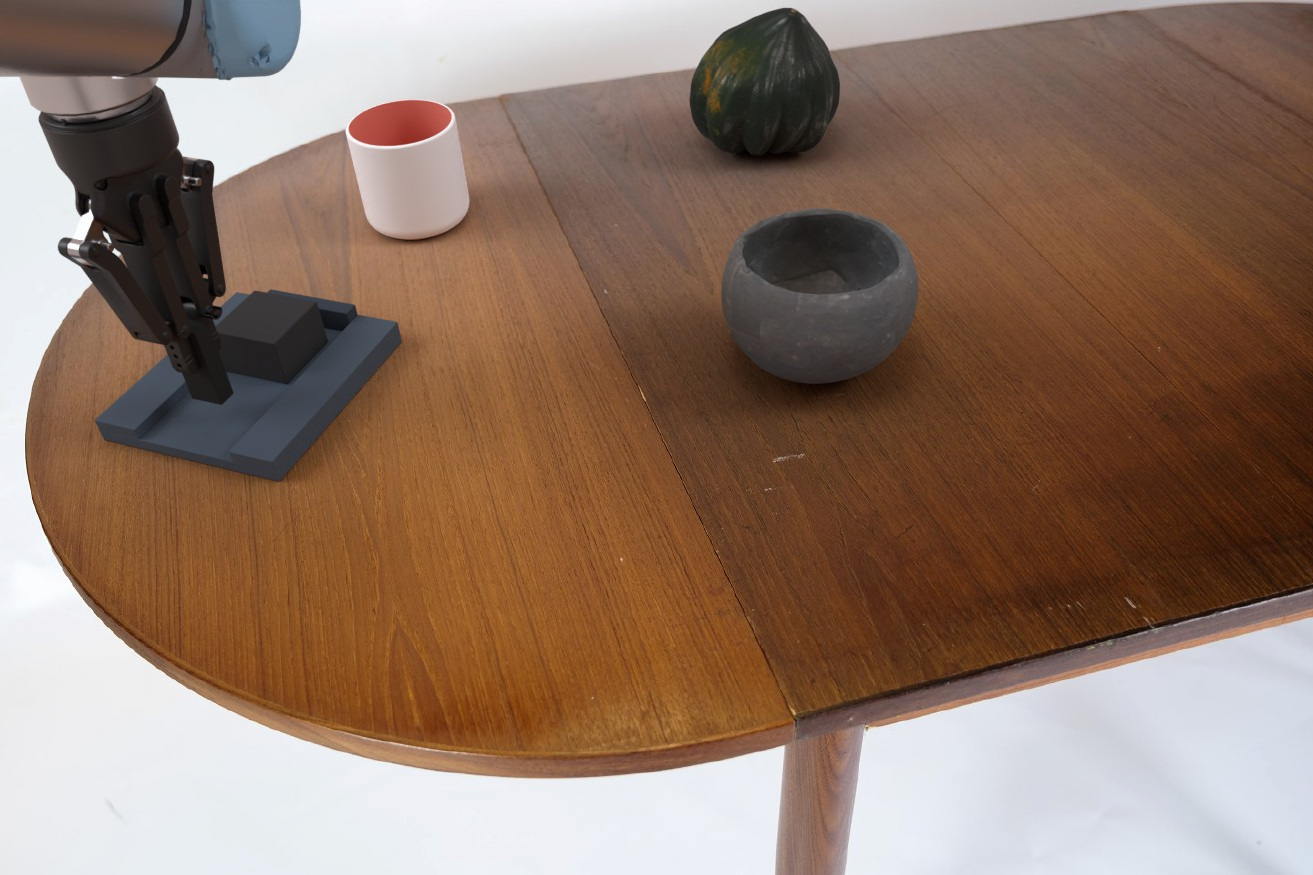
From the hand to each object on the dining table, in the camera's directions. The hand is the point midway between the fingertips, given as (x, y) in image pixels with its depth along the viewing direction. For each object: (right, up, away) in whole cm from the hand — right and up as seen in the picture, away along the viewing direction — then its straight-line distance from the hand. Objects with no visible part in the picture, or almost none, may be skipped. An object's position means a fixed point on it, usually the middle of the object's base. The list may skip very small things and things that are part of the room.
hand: (212, 395), depth 85 cm
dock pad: (+2, +1, +5) cm, 6 cm away
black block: (+3, +3, +7) cm, 8 cm away
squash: (+45, +28, +34) cm, 63 cm away
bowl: (+46, +3, +5) cm, 47 cm away
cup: (+10, +18, +25) cm, 33 cm away
